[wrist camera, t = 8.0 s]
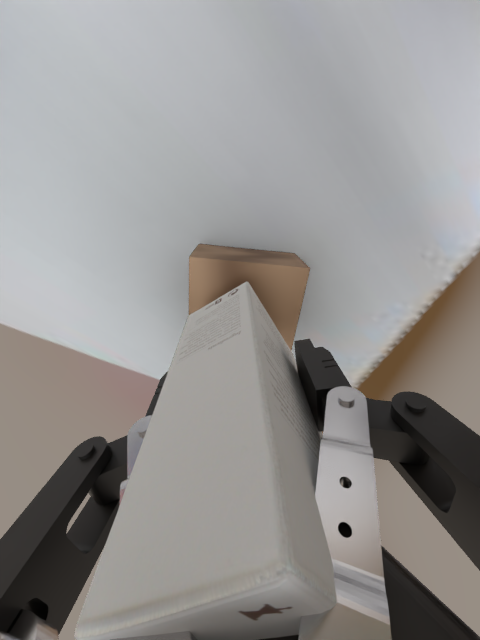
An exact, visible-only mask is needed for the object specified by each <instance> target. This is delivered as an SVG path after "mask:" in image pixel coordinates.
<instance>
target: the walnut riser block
mask: <svg viewBox="0 0 480 640" xmlns="http://www.w3.org/2000/svg"><path fill="white" fill-rule="evenodd" d="M309 271H310V268H309V267H308V266H307V265H306V264H305V263H304V262H303V261H302V260H301V259H300V258H299V257H298V256H297V255H296V254H295V253H286V252H276V251H265V250H255V249H245V248H235V247H225V246H215V245H205V244H199V245H198V246H197V247H196V249H195V250H194V251H193V253H192V254H191V255H190V256H189V315H190V314H192V313H194V312H195V311H197V310H199V309H201V308H202V307H204V306H206V305H207V304H209V303H211V302H213V301H214V300H216V299H218V298H219V297H221V296H223V295H224V294H226V293H228V292H229V291H231V290H233V289H235V288H236V287H238V286H240V285H241V284H243V283H245V282H249V284H250V285H251V287H252V289H253V290H254V292H255V294H256V295H257V297H258V298H259V300H260V302H261V303H262V305H263V306H264V308H265V310H266V311H267V313H268V314H269V316H270V318H271V319H272V321H273V322H274V324H275V326H276V327H277V329H278V331H279V332H280V334H281V335H282V337H283V339H284V340H285V342H286V344H287V345H288V347H289V348H290V350H291V349H292V345H293V341H294V336H295V332H296V328H297V323H298V319H299V315H300V310H301V306H302V302H303V297H304V293H305V289H306V284H307V280H308V276H309Z"/></svg>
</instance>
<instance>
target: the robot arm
mask: <svg viewBox="0 0 480 640" xmlns="http://www.w3.org/2000/svg"><path fill="white" fill-rule="evenodd" d="M295 354H296V364H297V371H298V375H299V378H300V381H301V384H302V386H303V389H304V392H305V395H306V398H307V401H308V403H309V406H310V409H311V412H312V415H313V418H314V420H315V423H316V426H317V429H318V432H320V431H323V432H324V433H323V438H321V443H320V453H319V463H318V472H317V482H316V492H315V498H316V502H317V505H318V509H319V513H320V517H321V521H322V525H323V529H324V532H325V536H326V540H327V544H328V548H329V551H330V555H331V559H332V563H333V569H334V583H335V590H336V596H337V602H336V604H335V606H334V607H333V608H332V609H330V610H327V611H325V612H323V613H321V614H314V615H306V616H301V620H300V629H299V635H292V636H284V637H276V638H266V639H258V640H480V637H479V636H478V635H477V634H476V633H475V632H474V631H473V630H472V629H471V628H470V627H468V626H467V625H466V624H465V623H464V622H463V621H462V620H461V619H460V618H459V617H458V616H456V614H454V613H453V612H452V611H451V610H450V609H449V608H448V607H447V606H446V605H445V604H444V603H443V602H441V601H440V600H439V599H438V598H437V597H436V596H435V595H434V594H433V593H432V592H431V591H430V590H429V589H428V588H427V587H425V586H424V585H423V584H422V583H421V582H420V581H419V580H418V579H417V578H416V577H415V576H413V574H411V573H410V572H409V571H408V570H407V569H406V568H405V567H404V566H403V565H402V564H401V563H400V562H399V561H397V560H396V559H395V558H394V557H393V556H392V555H391V554H390V553H389V552H388V551H387V550H385V548H384V547H382V546H381V537H380V527H379V515H378V503H377V492H376V481H375V471H374V459H373V458H378V459H384V460H389V461H390V463H391V464H392V465H393V466H394V468H395V469H396V470H397V471H398V472H399V474H400V475H401V476H402V477H403V478H404V479H405V481H406V482H407V483H408V484H409V486H410V487H411V488H412V489H413V490H414V492H415V493H416V494H417V495H418V497H419V498H420V499H421V500H422V501H423V503H424V504H425V505H426V506H427V507H428V509H429V510H430V511H431V512H432V513H433V515H434V516H435V517H436V518H437V520H438V521H439V522H440V523H441V524H442V526H443V527H444V528H445V529H446V530H447V532H448V533H449V534H450V535H451V536H452V538H453V539H454V540H455V541H456V543H457V544H458V545H459V546H460V547H461V549H462V550H463V551H464V552H465V553H466V555H467V556H468V557H469V558H470V559H471V561H472V562H473V563H474V564H475V566H476V567H477V568H478V569H479V570H480V436H479V435H478V434H476V433H475V432H474V431H472V430H471V429H470V428H468V427H467V426H466V425H464V424H463V423H462V422H460V421H459V420H458V419H457V418H455V417H454V416H453V415H451V414H450V413H449V412H447V411H446V410H445V409H443V408H442V407H441V406H439V405H438V404H437V403H436V402H434V401H433V400H431V399H430V398H428V397H426V396H424V395H422V394H419V393H415V392H400V393H398V394H396V395H395V396H394V397H393V398H392V402H391V401H381V400H373V399H369V398H366V397H365V396H364V395H363V394H362V393H361V392H360V391H358V390H357V389H354V388H352V387H351V385H350V384H349V382H348V381H347V379H346V377H345V376H344V374H343V372H342V371H341V369H340V368H339V366H338V364H337V363H336V361H335V360H334V358H333V356H332V355H331V353H330V352H329V351H328V350H326V349H325V348H323V347H318V348H314V346H313V344H312V342H311V340H310V339H305V340H299V341H295ZM167 373H168V372H167ZM167 373H166V374H165V375H164V376H163V377H162V378H161V379H160V382H159V384H158V388H157V389H156V392H155V395H154V397H153V399H152V401H151V404H150V406H149V409H148V411H147V414H146V416H145V417H144V418H142V419H140V420H138V421H137V422H136V423H135V424H134V425H133V426H132V427H131V429H130V430H129V432H128V435H127V436H125V437H123V438H120V439H118V440H115V441H113V442H110V443H107V441H106V440H105V439H104V438H103V437H93V438H90V439H88V440H86V441H84V442H83V443H81V444H80V445H79V446H77V447H76V448H75V449H74V450H73V452H72V453H71V454H70V455H69V456H68V458H67V459H66V460H65V461H64V463H63V464H62V465H61V466H60V467H59V469H58V470H57V471H56V472H55V474H54V475H53V476H52V477H51V478H50V480H49V481H48V482H47V484H46V485H45V486H44V487H43V488H42V489H41V491H40V492H39V493H38V494H37V495H36V497H35V498H34V499H33V500H32V502H31V503H30V504H29V505H28V507H27V508H26V509H25V510H24V511H23V513H22V514H21V515H20V516H19V518H18V519H17V520H16V521H15V522H14V524H13V525H12V526H11V527H10V528H9V530H8V531H7V532H6V533H5V535H4V536H3V537H2V538H1V539H0V640H59V638H58V637H59V636H58V635H59V633H60V631H61V629H62V627H63V625H64V623H65V621H66V620H67V618H68V616H69V614H70V612H71V610H72V608H73V606H74V604H75V602H76V600H77V598H78V596H79V594H80V592H81V590H82V588H83V587H84V585H85V583H86V581H87V579H88V577H89V575H90V573H91V571H92V569H93V567H94V565H95V563H96V561H97V559H98V557H99V555H100V554H101V552H102V550H103V548H104V546H105V544H106V541H107V539H108V536H109V533H110V531H111V528H112V525H113V522H114V520H115V517H116V514H117V512H118V509H119V506H120V503H121V500H122V497H123V495H124V492H125V489H126V486H127V484H128V481H129V479H130V476H131V473H132V470H133V467H134V464H135V461H136V459H137V456H138V453H139V450H140V448H141V445H142V442H143V439H144V437H145V434H146V431H147V428H148V425H149V423H150V420H151V417H152V415H153V412H154V409H155V406H156V404H157V401H158V398H159V395H160V393H161V390H162V387H163V384H164V381H165V379H166V376H167ZM87 493H89V494H90V496H91V497H90V499H89V500H88V502H87V503H86V505H85V507H84V508H83V510H82V511H81V513H80V514H79V516H78V518H77V519H76V520H75V522H74V524H73V525H72V527H71V528H70V530H69V531H68V533H67V534H66V530H67V526H68V523H69V521H70V520H71V518H72V516H73V515H74V513H75V512H76V510H77V509H78V507H79V506H80V504H81V503H82V501H83V500H84V498H85V497H86V495H87ZM110 640H197V639H196V638H195V636H194V635H193V634H192V633H191V632H190V631H184V632H176V633H168V634H159V635H149V636H138V637H128V638H117V639H110Z"/></svg>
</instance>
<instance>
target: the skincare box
mask: <svg viewBox="0 0 480 640" xmlns="http://www.w3.org/2000/svg"><path fill="white" fill-rule="evenodd" d="M321 438H323V435H322V432H321V431H320V432H318V429H317V426H316V423H315V420H314V418H313V415H312V412H311V409H310V406H309V403H308V401H307V398H306V395H305V392H304V389H303V386H302V384H301V381H300V378H299V375H298V371H297V364H296V361H295V358H294V356H293V353H292V352H291V350H290V348H289V347H288V345H287V344H286V342H285V340H284V339H283V337H282V335H281V334H280V332H279V331H278V329H277V327H276V326H275V324H274V322H273V321H272V319H271V318H270V316H269V314H268V313H267V311H266V310H265V308H264V306H263V305H262V303H261V302H260V300H259V298H258V297H257V295H256V294H255V292H254V290H253V289H252V287H251V285H250V284H249V282H245V283H243V284H241V285H240V286H238V287H236V288H235V289H233V290H231V291H229V292H228V293H226V294H224V295H223V296H221V297H219V298H218V299H216V300H214V301H213V302H211V303H209V304H207V305H206V306H204V307H202V308H201V309H199V310H197V311H195V312H194V313H192V314H190V315H189V316H188V318H187V321H186V324H185V327H184V329H183V332H182V335H181V338H180V340H179V343H178V346H177V348H176V351H175V354H174V357H173V360H172V362H171V365H170V368H169V371H168V373H167V376H166V379H165V381H164V384H163V387H162V390H161V393H160V395H159V398H158V401H157V404H156V406H155V409H154V412H153V415H152V417H151V420H150V423H149V425H148V428H147V431H146V434H145V437H144V439H143V442H142V445H141V448H140V450H139V453H138V456H137V459H136V461H135V464H134V467H133V470H132V473H131V476H130V479H129V481H128V484H127V486H126V489H125V492H124V495H123V497H122V500H121V503H120V506H119V509H118V512H117V514H116V517H115V520H114V522H113V525H112V528H111V531H110V533H109V536H108V539H107V541H106V544H105V547H104V549H103V553H102V555H101V558H100V561H99V564H98V566H97V569H96V572H95V575H94V577H93V581H92V583H91V586H90V589H89V591H88V594H87V597H86V599H85V602H84V605H83V608H82V611H81V614H80V617H79V619H78V622H77V626H76V631H75V639H76V640H110V639H117V638H128V637H138V636H149V635H159V634H168V633H176V632H184V631H190V632H191V633H192V634H193V635H194V636H195V638H196V639H197V640H258V639H266V638H276V637H284V636H292V635H299V629H300V620H301V616H306V615H314V614H321V613H323V612H325V611H327V610H330V609H332V608H333V607H334V606H335V604H336V602H337V596H336V590H335V583H334V569H333V563H332V559H331V555H330V551H329V548H328V544H327V540H326V536H325V532H324V529H323V525H322V521H321V517H320V513H319V509H318V505H317V502H316V498H315V492H316V482H317V472H318V463H319V453H320V443H321Z"/></svg>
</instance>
